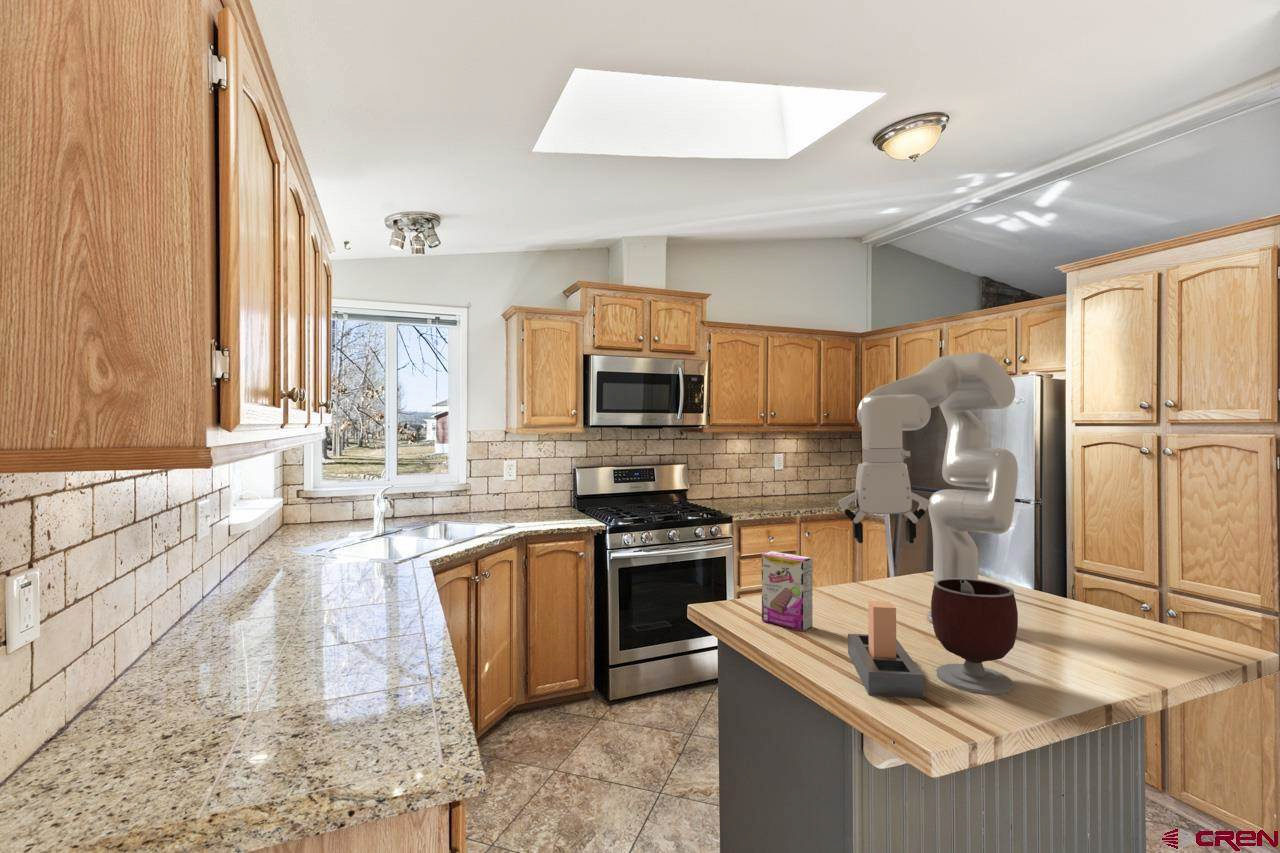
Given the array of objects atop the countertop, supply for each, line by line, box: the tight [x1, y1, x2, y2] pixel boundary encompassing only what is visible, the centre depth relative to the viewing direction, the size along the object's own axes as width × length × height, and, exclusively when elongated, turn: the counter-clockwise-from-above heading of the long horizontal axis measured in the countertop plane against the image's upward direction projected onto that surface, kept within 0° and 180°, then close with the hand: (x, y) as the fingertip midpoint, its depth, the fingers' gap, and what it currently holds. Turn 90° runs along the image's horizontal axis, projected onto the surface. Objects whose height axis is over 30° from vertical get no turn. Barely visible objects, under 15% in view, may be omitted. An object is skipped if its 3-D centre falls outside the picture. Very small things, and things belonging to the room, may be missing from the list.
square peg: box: [867, 600, 897, 658], centre depth 112 cm, size 4×4×13 cm
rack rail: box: [847, 633, 925, 700], centre depth 112 cm, size 9×20×4 cm, turn 171°
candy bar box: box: [761, 550, 813, 632], centre depth 142 cm, size 11×5×16 cm, turn 47°
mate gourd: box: [930, 578, 1019, 695], centre depth 109 cm, size 16×14×20 cm
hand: (884, 541), depth 120 cm, fingers open, 9 cm apart
